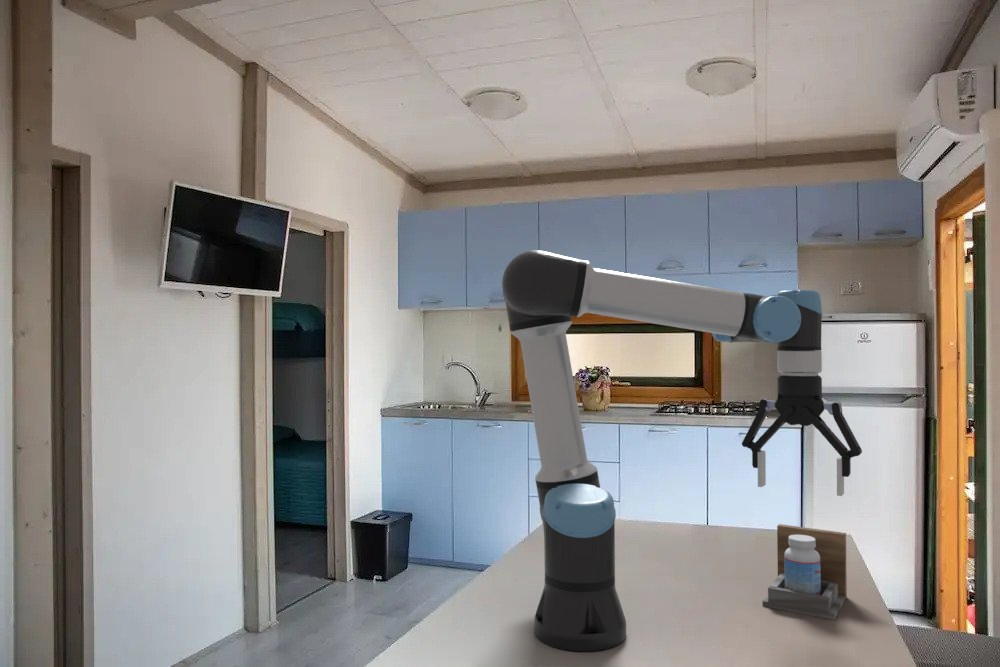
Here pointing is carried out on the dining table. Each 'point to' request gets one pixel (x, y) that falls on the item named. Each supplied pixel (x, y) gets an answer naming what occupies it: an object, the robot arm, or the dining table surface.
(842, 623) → the dining table surface
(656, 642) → the dining table surface
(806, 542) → the pill bottle
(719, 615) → the dining table surface
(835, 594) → the cup bracket
